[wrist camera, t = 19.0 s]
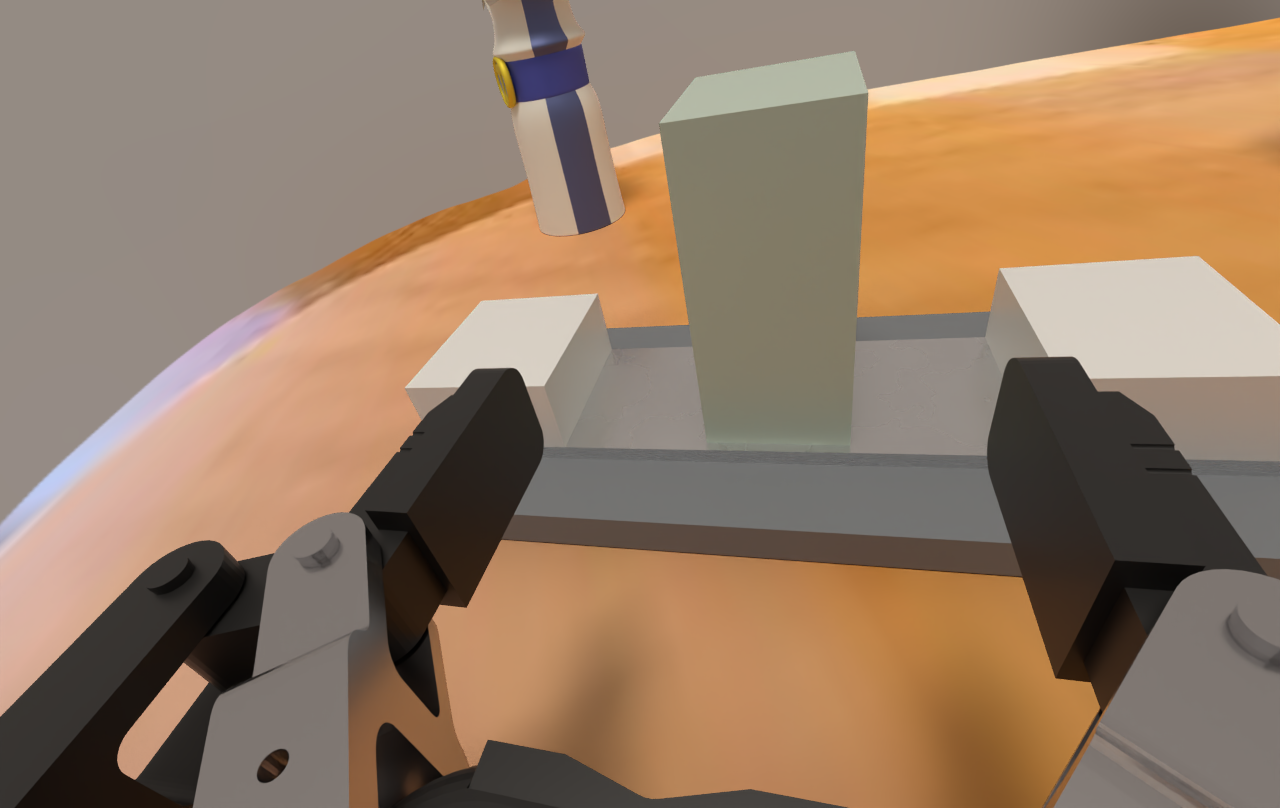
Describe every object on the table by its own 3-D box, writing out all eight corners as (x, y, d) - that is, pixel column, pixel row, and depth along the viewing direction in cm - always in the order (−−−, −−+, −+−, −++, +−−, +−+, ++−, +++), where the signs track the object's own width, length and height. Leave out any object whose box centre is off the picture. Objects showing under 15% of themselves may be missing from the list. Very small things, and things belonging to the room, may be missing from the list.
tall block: (843, 346, 24) (854, 49, 18) (850, 445, 20) (867, 93, 13) (726, 350, 26) (696, 76, 19) (706, 442, 21) (659, 123, 15)
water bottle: (549, 248, 46) (424, -186, 31) (526, 220, 53) (413, -147, 38) (642, 217, 48) (565, -208, 33) (608, 194, 54) (531, -168, 40)
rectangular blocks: (1162, 326, 22) (1193, 252, 20) (1282, 461, 16) (1339, 375, 14) (504, 349, 30) (484, 297, 28) (434, 444, 24) (404, 387, 22)
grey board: (1158, 334, 25) (1171, 303, 24) (1388, 602, 15) (1425, 567, 14) (511, 355, 33) (502, 333, 33) (388, 530, 24) (371, 506, 23)
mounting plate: (1176, 344, 22) (1182, 330, 21) (1294, 476, 16) (1304, 462, 16) (496, 362, 30) (493, 353, 30) (430, 454, 25) (424, 444, 24)
